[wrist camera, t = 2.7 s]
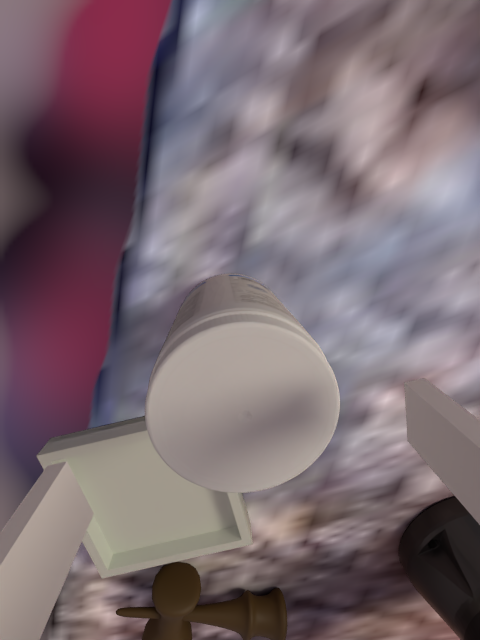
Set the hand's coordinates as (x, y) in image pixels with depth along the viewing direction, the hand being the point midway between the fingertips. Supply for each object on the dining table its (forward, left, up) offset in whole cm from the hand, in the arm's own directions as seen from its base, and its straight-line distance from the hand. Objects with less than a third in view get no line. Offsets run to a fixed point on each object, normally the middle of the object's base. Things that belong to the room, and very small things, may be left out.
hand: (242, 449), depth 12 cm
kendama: (-34, +11, -18) cm, 40 cm away
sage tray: (-16, +12, -17) cm, 26 cm away
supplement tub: (0, 0, -17) cm, 17 cm away
